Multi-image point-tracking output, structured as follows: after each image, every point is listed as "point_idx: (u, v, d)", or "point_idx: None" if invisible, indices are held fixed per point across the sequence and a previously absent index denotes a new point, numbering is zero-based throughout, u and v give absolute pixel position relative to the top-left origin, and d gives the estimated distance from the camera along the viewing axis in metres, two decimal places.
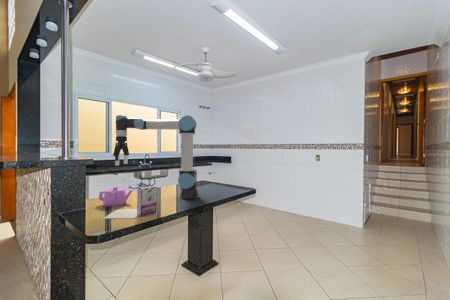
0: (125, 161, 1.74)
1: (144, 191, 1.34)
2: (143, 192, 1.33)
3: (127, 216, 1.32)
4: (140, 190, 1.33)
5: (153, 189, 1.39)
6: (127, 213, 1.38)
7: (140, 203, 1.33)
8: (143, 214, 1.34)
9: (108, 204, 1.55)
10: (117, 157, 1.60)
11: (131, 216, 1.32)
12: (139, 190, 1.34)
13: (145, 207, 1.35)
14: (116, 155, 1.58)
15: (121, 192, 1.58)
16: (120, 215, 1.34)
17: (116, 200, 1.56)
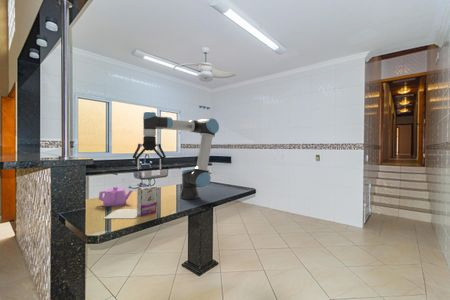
0: None
1: (144, 191, 1.34)
2: (143, 192, 1.33)
3: (127, 216, 1.32)
4: (140, 189, 1.33)
5: (153, 189, 1.39)
6: (127, 213, 1.38)
7: (140, 203, 1.33)
8: (143, 214, 1.34)
9: (108, 204, 1.55)
10: (136, 160, 1.42)
11: (131, 216, 1.32)
12: (139, 190, 1.34)
13: (145, 207, 1.35)
14: None
15: (121, 192, 1.58)
16: (120, 215, 1.34)
17: (116, 200, 1.56)
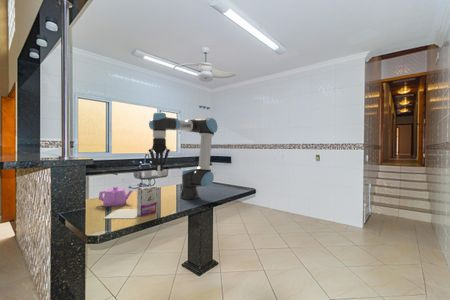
0: None
1: (144, 191, 1.34)
2: (143, 192, 1.33)
3: (127, 216, 1.32)
4: (140, 189, 1.33)
5: (153, 189, 1.39)
6: (127, 213, 1.38)
7: (140, 203, 1.33)
8: (143, 214, 1.34)
9: (108, 204, 1.55)
10: (156, 167, 1.37)
11: (131, 216, 1.32)
12: (139, 190, 1.34)
13: (145, 207, 1.35)
14: (154, 164, 1.37)
15: (121, 192, 1.58)
16: (120, 215, 1.34)
17: (116, 200, 1.56)
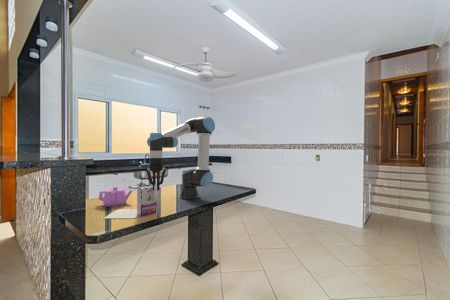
0: None
1: (144, 190, 1.34)
2: (142, 192, 1.34)
3: (127, 216, 1.32)
4: (140, 189, 1.34)
5: None
6: (127, 213, 1.38)
7: (140, 203, 1.33)
8: (143, 214, 1.34)
9: (108, 204, 1.55)
10: (153, 186, 1.37)
11: (131, 216, 1.32)
12: (139, 190, 1.34)
13: (145, 206, 1.35)
14: (151, 184, 1.37)
15: (121, 192, 1.58)
16: (120, 215, 1.34)
17: (116, 200, 1.56)
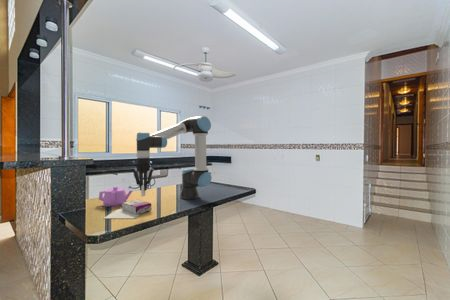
0: None
1: (125, 202, 1.46)
2: (125, 203, 1.45)
3: (127, 216, 1.32)
4: (122, 205, 1.45)
5: (134, 200, 1.51)
6: (127, 213, 1.38)
7: (129, 206, 1.40)
8: (137, 206, 1.37)
9: (108, 204, 1.55)
10: (140, 186, 1.37)
11: (131, 216, 1.32)
12: (122, 206, 1.45)
13: (135, 204, 1.40)
14: (138, 184, 1.37)
15: (121, 192, 1.58)
16: (120, 215, 1.34)
17: (116, 200, 1.56)
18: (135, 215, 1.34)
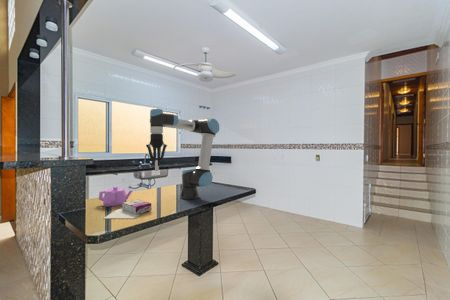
0: None
1: (125, 202, 1.46)
2: (125, 203, 1.45)
3: (127, 216, 1.32)
4: (122, 205, 1.45)
5: (134, 200, 1.51)
6: (127, 213, 1.38)
7: (129, 206, 1.40)
8: (137, 206, 1.37)
9: (108, 204, 1.55)
10: (154, 162, 1.41)
11: (131, 216, 1.32)
12: (122, 206, 1.45)
13: (135, 204, 1.40)
14: (152, 159, 1.41)
15: (121, 192, 1.58)
16: (120, 215, 1.34)
17: (116, 200, 1.56)
18: (135, 215, 1.34)
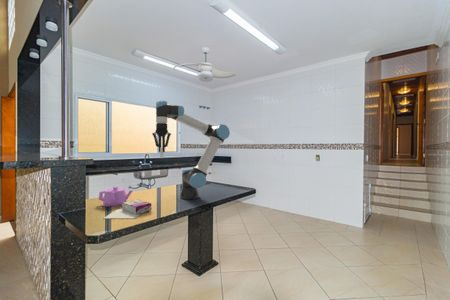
0: None
1: (125, 202, 1.46)
2: (125, 203, 1.45)
3: (127, 216, 1.32)
4: (122, 205, 1.45)
5: (134, 200, 1.51)
6: (127, 213, 1.38)
7: (129, 206, 1.40)
8: (137, 206, 1.37)
9: (108, 204, 1.55)
10: (159, 148, 1.57)
11: (131, 216, 1.32)
12: (122, 206, 1.45)
13: (135, 204, 1.40)
14: (157, 146, 1.57)
15: (121, 192, 1.58)
16: (120, 215, 1.34)
17: (116, 200, 1.56)
18: (135, 215, 1.34)
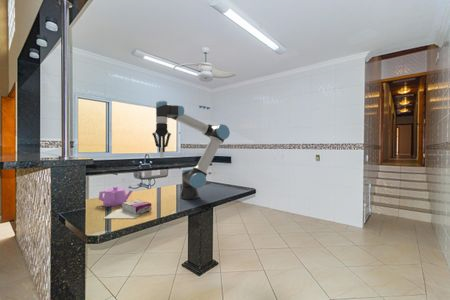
0: None
1: (125, 202, 1.46)
2: (125, 203, 1.45)
3: (127, 216, 1.32)
4: (122, 205, 1.45)
5: (134, 200, 1.51)
6: (127, 213, 1.38)
7: (129, 206, 1.40)
8: (137, 206, 1.37)
9: (108, 204, 1.55)
10: (159, 148, 1.57)
11: (131, 216, 1.32)
12: (122, 206, 1.45)
13: (135, 204, 1.40)
14: (157, 146, 1.57)
15: (121, 192, 1.58)
16: (120, 215, 1.34)
17: (116, 200, 1.56)
18: (135, 215, 1.34)
